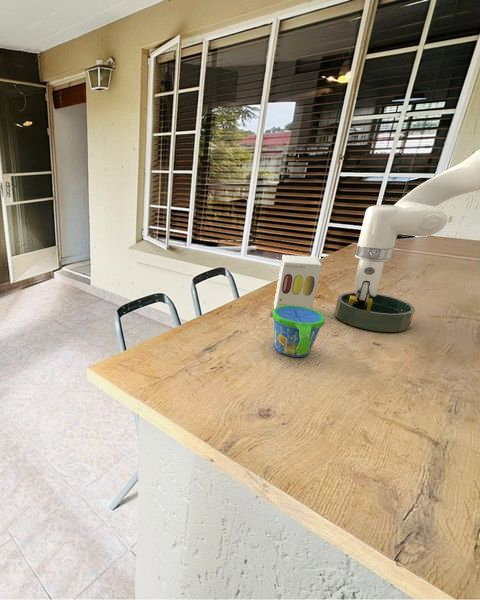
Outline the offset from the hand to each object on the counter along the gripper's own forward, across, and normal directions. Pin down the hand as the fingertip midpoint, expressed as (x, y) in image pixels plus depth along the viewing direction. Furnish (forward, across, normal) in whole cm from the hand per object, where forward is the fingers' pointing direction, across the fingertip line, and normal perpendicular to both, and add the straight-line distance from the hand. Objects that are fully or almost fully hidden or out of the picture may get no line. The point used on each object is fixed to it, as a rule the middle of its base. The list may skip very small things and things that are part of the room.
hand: (357, 314), depth 101 cm
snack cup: (+2, -30, +12) cm, 32 cm away
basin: (+1, 0, -3) cm, 3 cm away
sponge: (+1, 0, 0) cm, 1 cm away
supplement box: (+2, -4, +16) cm, 16 cm away
